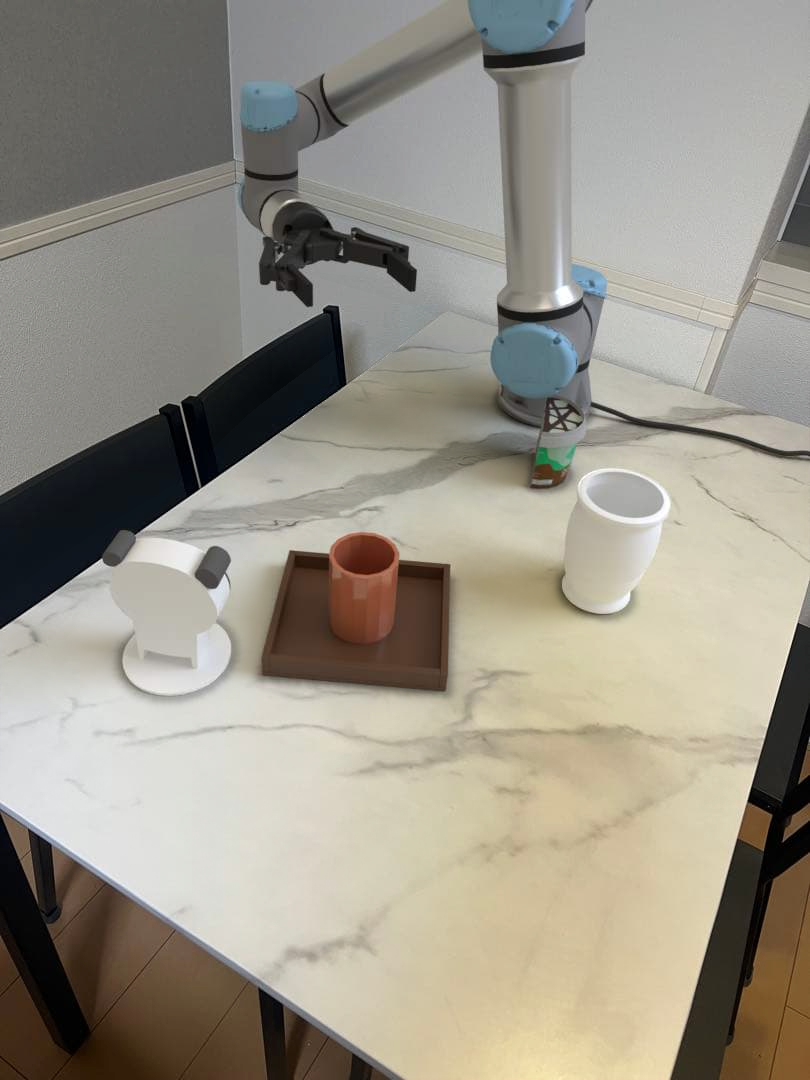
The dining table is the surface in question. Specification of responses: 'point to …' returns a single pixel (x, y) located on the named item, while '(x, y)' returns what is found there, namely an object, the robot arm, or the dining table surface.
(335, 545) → the cup
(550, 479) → the food container
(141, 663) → the panda figurine
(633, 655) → the dining table surface
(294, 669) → the tray
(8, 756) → the dining table surface
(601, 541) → the jar
